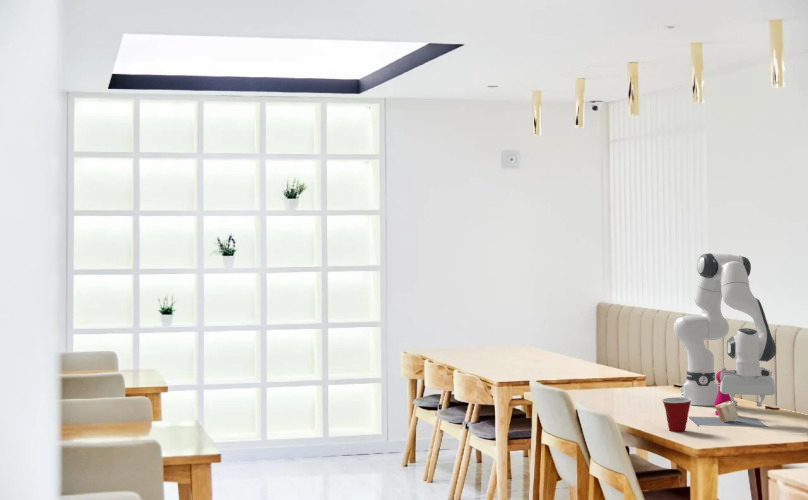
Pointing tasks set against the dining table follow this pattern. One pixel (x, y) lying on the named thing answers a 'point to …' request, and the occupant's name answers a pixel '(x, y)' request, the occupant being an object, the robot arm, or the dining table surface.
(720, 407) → the maple cube
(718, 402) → the pepper mill
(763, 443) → the dining table surface
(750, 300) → the robot arm
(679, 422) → the plastic cup
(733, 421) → the slate mat
